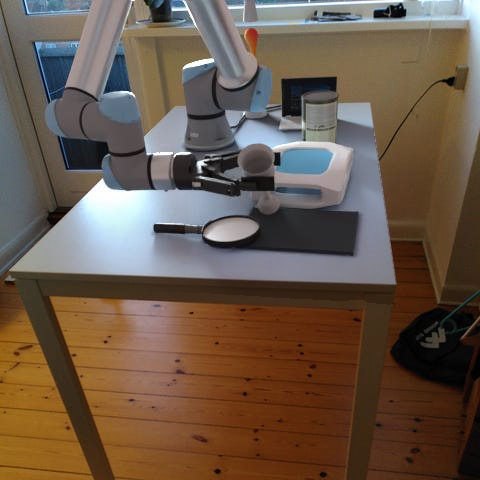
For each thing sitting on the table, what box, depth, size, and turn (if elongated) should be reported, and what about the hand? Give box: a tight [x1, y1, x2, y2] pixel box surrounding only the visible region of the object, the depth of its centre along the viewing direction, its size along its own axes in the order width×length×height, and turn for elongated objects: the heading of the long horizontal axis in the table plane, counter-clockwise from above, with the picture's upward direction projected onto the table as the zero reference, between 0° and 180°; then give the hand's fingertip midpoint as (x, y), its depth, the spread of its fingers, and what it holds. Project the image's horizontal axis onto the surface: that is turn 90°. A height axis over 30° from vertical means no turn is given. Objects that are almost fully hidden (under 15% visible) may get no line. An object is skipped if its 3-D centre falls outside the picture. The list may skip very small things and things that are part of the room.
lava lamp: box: [242, 0, 268, 119], centre depth 170 cm, size 9×9×35 cm
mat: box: [234, 206, 360, 257], centre depth 110 cm, size 18×24×1 cm
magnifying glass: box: [152, 214, 261, 250], centre depth 110 cm, size 12×24×2 cm, turn 73°
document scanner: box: [249, 140, 354, 210], centre depth 127 cm, size 21×28×6 cm
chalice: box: [238, 143, 280, 214], centre depth 107 cm, size 7×7×18 cm
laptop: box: [278, 75, 338, 131], centre depth 164 cm, size 18×12×13 cm
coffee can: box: [301, 90, 340, 144], centre depth 147 cm, size 10×10×14 cm
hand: (277, 170), depth 105 cm, fingers open, 13 cm apart
